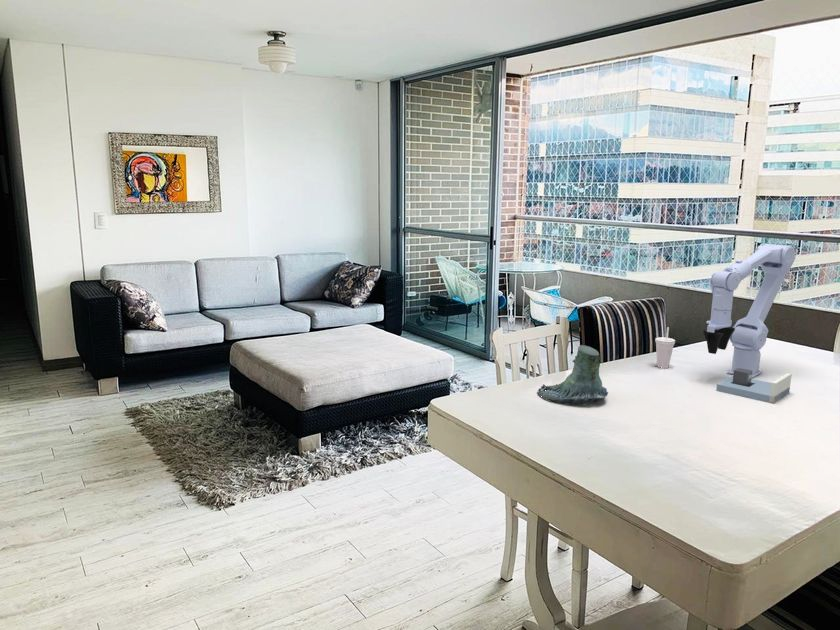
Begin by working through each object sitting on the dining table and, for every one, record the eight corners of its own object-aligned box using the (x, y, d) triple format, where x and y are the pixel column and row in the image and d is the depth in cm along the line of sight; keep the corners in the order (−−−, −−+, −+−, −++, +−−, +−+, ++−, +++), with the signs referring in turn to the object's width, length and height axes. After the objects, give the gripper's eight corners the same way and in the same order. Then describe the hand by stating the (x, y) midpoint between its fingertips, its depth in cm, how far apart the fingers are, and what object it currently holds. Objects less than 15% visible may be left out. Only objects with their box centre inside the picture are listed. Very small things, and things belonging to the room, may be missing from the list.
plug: (736, 386, 198) (738, 367, 197) (751, 389, 195) (753, 370, 194) (731, 389, 195) (733, 370, 194) (746, 392, 192) (748, 373, 191)
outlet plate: (733, 381, 203) (735, 362, 202) (789, 393, 192) (791, 373, 191) (716, 390, 194) (718, 371, 193) (773, 403, 183) (776, 383, 181)
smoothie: (669, 370, 214) (673, 329, 212) (650, 367, 218) (653, 327, 215) (675, 366, 219) (678, 326, 217) (656, 363, 223) (659, 324, 220)
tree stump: (558, 383, 201) (575, 331, 195) (613, 413, 188) (633, 359, 183) (524, 393, 188) (541, 337, 182) (581, 426, 175) (601, 368, 170)
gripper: (717, 304, 208) (713, 345, 211) (699, 310, 198) (694, 352, 201) (740, 307, 203) (735, 349, 206) (722, 313, 193) (717, 357, 196)
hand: (717, 351), depth 203 cm, fingers open, 7 cm apart
